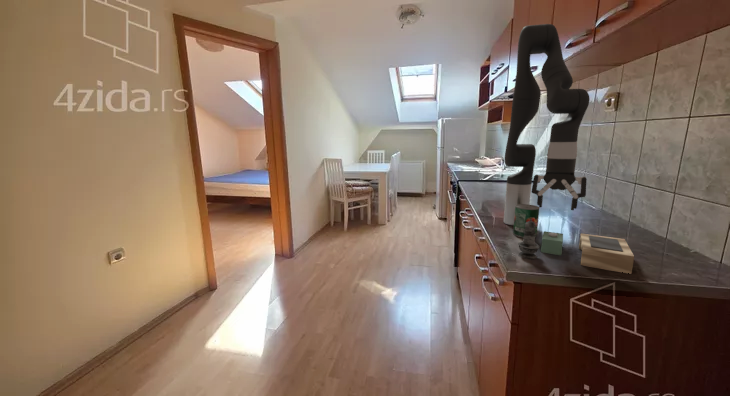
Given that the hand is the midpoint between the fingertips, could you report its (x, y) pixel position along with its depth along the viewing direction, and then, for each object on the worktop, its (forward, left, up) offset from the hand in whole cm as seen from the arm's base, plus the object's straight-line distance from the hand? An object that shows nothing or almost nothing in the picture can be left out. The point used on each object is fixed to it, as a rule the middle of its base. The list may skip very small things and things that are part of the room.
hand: (555, 208), depth 95 cm
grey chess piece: (+10, -6, -14) cm, 18 cm away
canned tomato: (-12, -9, -14) cm, 21 cm away
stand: (+2, +13, -14) cm, 19 cm away
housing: (0, 0, -14) cm, 14 cm away
